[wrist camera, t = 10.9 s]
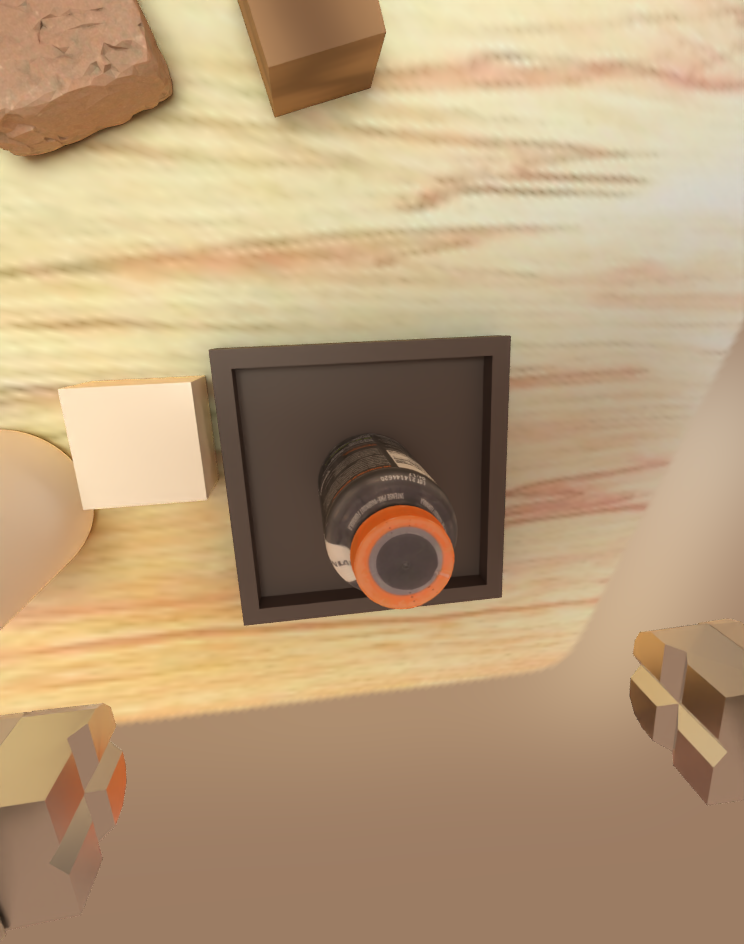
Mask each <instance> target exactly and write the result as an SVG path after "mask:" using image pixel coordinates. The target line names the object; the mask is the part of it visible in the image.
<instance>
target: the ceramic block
mask: <svg viewBox="0 0 744 944" xmlns="http://www.w3.org/2000/svg"><path fill="white" fill-rule="evenodd" d="M58 393H59V398H60V403H61V407H62V412H63V417H64V422H65V426H66V431H67V436H68V440H69V445H70V450H71V455H72V459H73V464H74V469H75V473H76V478H77V483H78V488H79V492H80V497H81V502H82V506H83V510H90V509H103V508H115V507H128V506H141V505H153V504H166V503H178V502H191V501H204V500H207V499H208V498H209V496H210V494H211V492H212V491H213V489H214V487H215V485H216V483H217V482H218V480H219V477H218V469H217V461H216V454H215V446H214V438H213V431H212V423H211V415H210V408H209V400H208V392H207V385H206V377H205V376H185V377H165V378H145V379H125V380H105V381H89V382H85V383H81V384H77V385H72V386H68V387H64V388H60V389H58Z"/></svg>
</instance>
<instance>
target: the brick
mask: <svg viewBox="0 0 744 944" xmlns="http://www.w3.org/2000/svg"><path fill="white" fill-rule="evenodd" d="M170 95H172V80H171V78H170V75H169V71H168V67H167V64H166V62H165V59H164V57H163V56H162V54H161V52H160V50H159V49H158V47H157V44H156V41H155V38H154V36H153V34H152V31H151V29H150V27H149V25H148V23H147V21H146V19H145V17H144V15H143V13H142V10H141V8H140V6H139V4H138V2H137V0H0V148H3V150H9V151H10V152H11V153H13V154H14V155H19V156H29V155H40V154H43V153H47V152H51V151H54V150H56V149H58V148H61V147H62V146H64V145H67V144H71V143H75V142H77V141H80V140H82V139H84V138H86V137H88V136H90V135H92V134H93V133H95V132H97V131H99V130H101V129H104V128H106V127H111V126H116V125H120V124H124V123H126V122H127V121H129V120H130V119H131V118H132V116H133V115H135V114H137V113H138V112H140V111H142V110H147V109H152V108H154V107H155V106H156V105H158V103H159V102H162V101H164V100H165V99H166V98H168V97H169V96H170Z"/></svg>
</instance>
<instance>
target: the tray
mask: <svg viewBox="0 0 744 944" xmlns="http://www.w3.org/2000/svg"><path fill="white" fill-rule="evenodd" d="M510 344H511V336H475V337H454V338H432V339H410V340H389V341H367V342H345V343H324V344H302V345H281V346H259V347H237V348H216V349H210V350H209V357H210V364H211V372H212V380H213V388H214V396H215V403H216V411H217V419H218V427H219V434H220V442H221V450H222V458H223V466H224V473H225V481H226V489H227V497H228V504H229V512H230V520H231V528H232V536H233V543H234V551H235V559H236V567H237V574H238V582H239V590H240V598H241V606H242V613H243V621H244V626H245V625H254V624H263V623H273V622H282V621H291V620H300V619H309V618H318V617H327V616H336V615H345V614H354V613H364V612H373V611H382V610H391V609H392V608H387V607H384V606H381V605H379V604H377V603H375V602H373V601H372V600H370V599H369V598H368V597H367V596H366V595H365V594H364V592H363V591H361V590H359V589H357V588H355V587H353V586H352V585H350V584H349V583H348V582H346V581H345V580H344V579H343V578H342V577H341V576H340V575H339V573H338V572H337V571H336V569H335V568H334V566H333V564H332V563H331V560H330V558H329V556H328V552H327V549H326V543H325V536H324V530H323V522H322V514H321V507H320V498H319V491H318V476H319V472H320V469H321V466H322V464H323V462H324V460H325V458H326V457H327V456H328V454H329V452H330V451H331V450H332V449H333V448H334V447H335V446H337V445H338V444H339V443H340V442H342V441H344V440H346V439H348V438H350V437H352V436H356V435H361V434H367V433H369V434H379V435H383V436H386V437H389V438H391V439H393V440H395V441H397V442H398V443H399V444H401V445H402V446H403V447H404V448H405V449H406V450H407V451H408V452H409V453H410V454H411V456H412V457H413V458H414V459H415V460H416V461H417V462H418V464H419V465H420V466H421V467H422V468H423V469H424V470H425V471H426V472H427V474H428V475H429V476H430V477H431V478H432V479H433V480H434V481H435V483H436V484H437V485H438V486H439V487H440V488H441V489H442V490H443V491H444V493H445V494H446V495H447V497H448V499H449V500H450V502H451V504H452V506H453V508H454V511H455V515H456V519H457V528H458V531H457V541H456V546H455V549H454V555H455V557H454V560H455V562H454V567H453V571H452V575H451V577H450V579H449V581H448V583H447V584H446V586H445V587H444V588H443V590H442V591H441V592H440V593H439V594H438V595H436V596H435V597H434V598H433V599H431V600H430V601H428V602H426V603H424V604H422V605H420V606H427V605H436V604H445V603H455V602H464V601H473V600H482V599H491V598H500V597H502V573H503V544H504V516H505V487H506V458H507V430H508V401H509V373H510ZM417 607H418V606H417Z"/></svg>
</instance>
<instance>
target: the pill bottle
mask: <svg viewBox="0 0 744 944" xmlns="http://www.w3.org/2000/svg"><path fill="white" fill-rule="evenodd" d="M318 491H319V498H320V507H321V514H322V522H323V530H324V536H325V543H326V549H327V552H328V556H329V558H330V560H331V563H332V564H333V566H334V568H335V569H336V571H337V572H338V573H339V575H340V576H341V577H342V578H343V579H344V580H345V581H346V582H348V583H349V584H350V585H352V586H353V587H355V588H357V589H359V590H361V591H363V592H364V594H365V595H366V596H367V597H368V598H369V599H370V600H372V601H373V602H375V603H377V604H379V605H381V606H384V607H387V608H392V609H409V608H414V607H417V606H420V605H422V604H424V603H426V602H428V601H430V600H431V599H433V598H434V597H435V596H436V595H438V594H439V593H440V592H441V591H442V590H443V588H444V587H445V586H446V584H447V583H448V581H449V579H450V577H451V575H452V571H453V567H454V562H455V560H454V557H455V555H454V549H455V546H456V541H457V531H458V528H457V519H456V515H455V511H454V508H453V506H452V504H451V502H450V500H449V499H448V497H447V495H446V494H445V493H444V491H443V490H442V489H441V488H440V487H439V486H438V485H437V484H436V483H435V481H434V480H433V479H432V478H431V477H430V476H429V475H428V474H427V472H426V471H425V470H424V469H423V468H422V467H421V466H420V465H419V464H418V462H417V461H416V460H415V459H414V458H413V457H412V456H411V454H410V453H409V452H408V451H407V450H406V449H405V448H404V447H403V446H402V445H401V444H399V443H398V442H397V441H395V440H393V439H391V438H389V437H386V436H383V435H379V434H369V433H367V434H361V435H356V436H352V437H350V438H348V439H346V440H344V441H342V442H340V443H339V444H338V445H337V446H335V447H334V448H333V449H332V450H331V451H330V452H329V454H328V456H327V457H326V458H325V460H324V462H323V464H322V466H321V469H320V472H319V476H318Z"/></svg>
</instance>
